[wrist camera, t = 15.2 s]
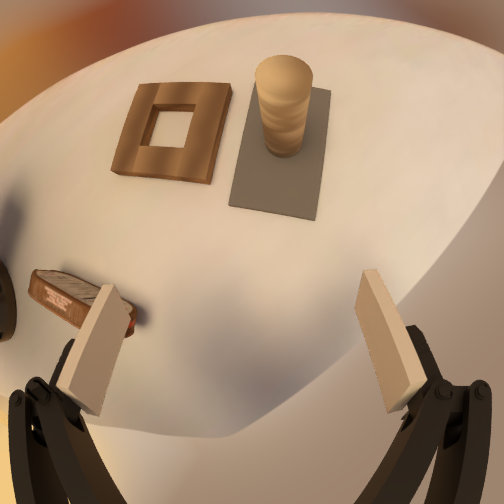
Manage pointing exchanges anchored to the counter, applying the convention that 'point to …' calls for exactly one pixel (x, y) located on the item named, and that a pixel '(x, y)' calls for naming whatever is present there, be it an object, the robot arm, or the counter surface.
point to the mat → (282, 164)
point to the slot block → (198, 139)
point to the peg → (283, 102)
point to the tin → (69, 297)
